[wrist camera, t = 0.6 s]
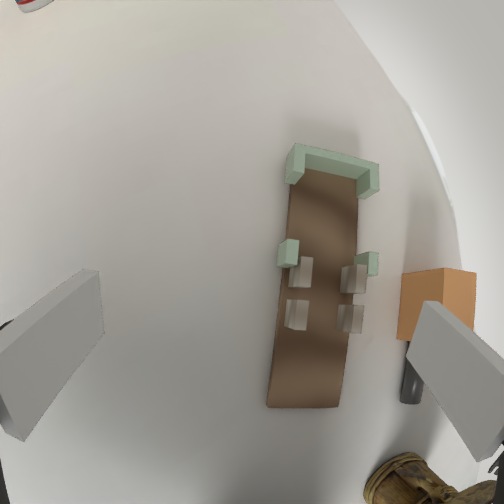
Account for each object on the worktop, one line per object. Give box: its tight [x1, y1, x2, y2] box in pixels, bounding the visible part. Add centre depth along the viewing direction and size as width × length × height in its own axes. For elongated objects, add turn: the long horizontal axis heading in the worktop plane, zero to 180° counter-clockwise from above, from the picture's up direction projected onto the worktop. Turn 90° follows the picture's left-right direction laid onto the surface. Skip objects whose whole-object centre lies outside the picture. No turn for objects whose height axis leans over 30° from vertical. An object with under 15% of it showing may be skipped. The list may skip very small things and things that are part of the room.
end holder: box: [277, 143, 379, 277], centre depth 28 cm, size 11×9×3 cm
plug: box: [397, 268, 476, 404], centre depth 27 cm, size 14×5×7 cm, turn 174°
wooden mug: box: [363, 452, 497, 504], centre depth 19 cm, size 9×14×18 cm, turn 21°
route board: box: [266, 168, 367, 408], centre depth 27 cm, size 24×7×4 cm, turn 174°
